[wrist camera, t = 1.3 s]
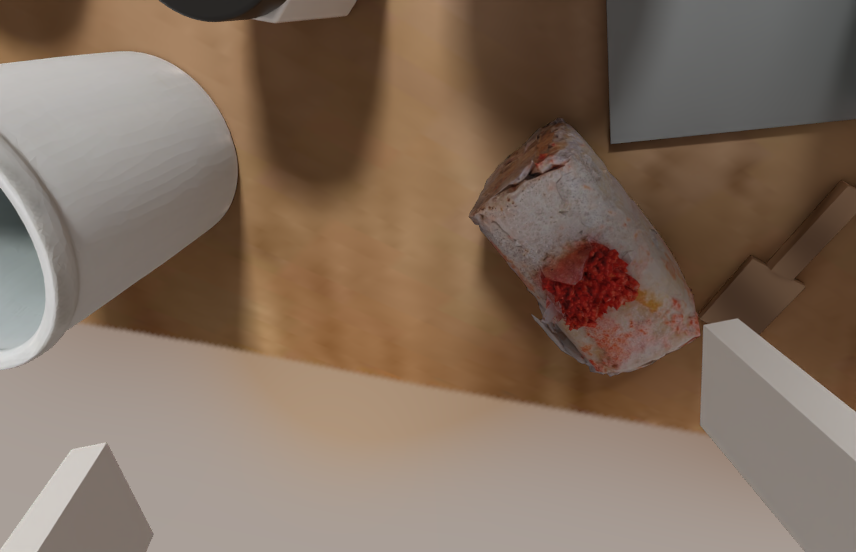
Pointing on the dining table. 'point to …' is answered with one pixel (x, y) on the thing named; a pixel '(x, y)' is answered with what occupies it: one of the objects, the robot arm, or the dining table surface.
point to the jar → (260, 9)
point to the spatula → (781, 267)
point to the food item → (586, 254)
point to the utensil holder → (99, 185)
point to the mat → (728, 65)
